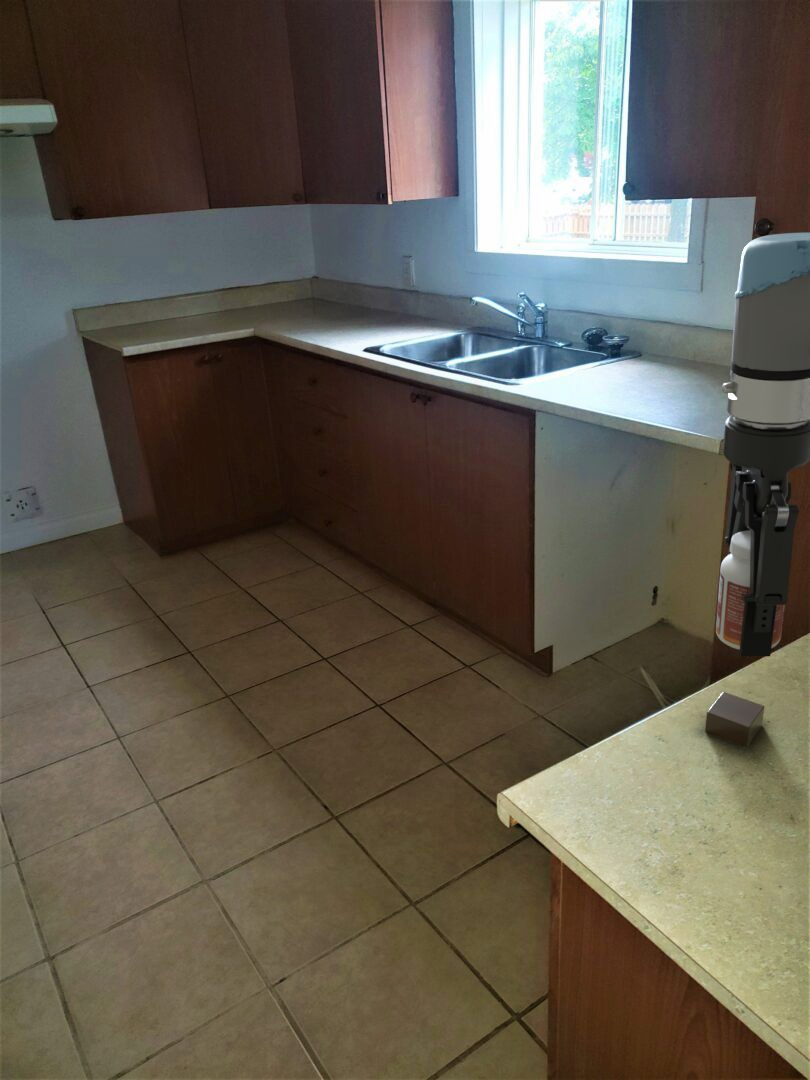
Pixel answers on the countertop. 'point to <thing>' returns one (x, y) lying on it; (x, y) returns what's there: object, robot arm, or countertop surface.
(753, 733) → the walnut block
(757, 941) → the countertop surface
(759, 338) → the robot arm
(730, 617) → the pill bottle
